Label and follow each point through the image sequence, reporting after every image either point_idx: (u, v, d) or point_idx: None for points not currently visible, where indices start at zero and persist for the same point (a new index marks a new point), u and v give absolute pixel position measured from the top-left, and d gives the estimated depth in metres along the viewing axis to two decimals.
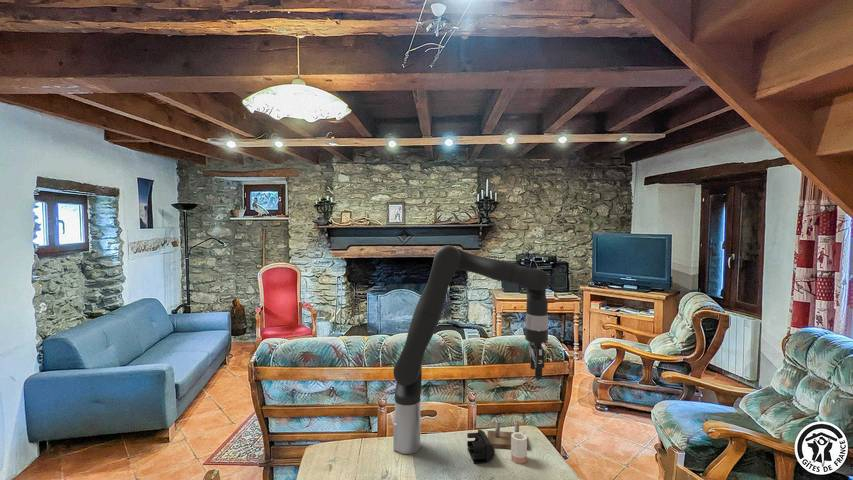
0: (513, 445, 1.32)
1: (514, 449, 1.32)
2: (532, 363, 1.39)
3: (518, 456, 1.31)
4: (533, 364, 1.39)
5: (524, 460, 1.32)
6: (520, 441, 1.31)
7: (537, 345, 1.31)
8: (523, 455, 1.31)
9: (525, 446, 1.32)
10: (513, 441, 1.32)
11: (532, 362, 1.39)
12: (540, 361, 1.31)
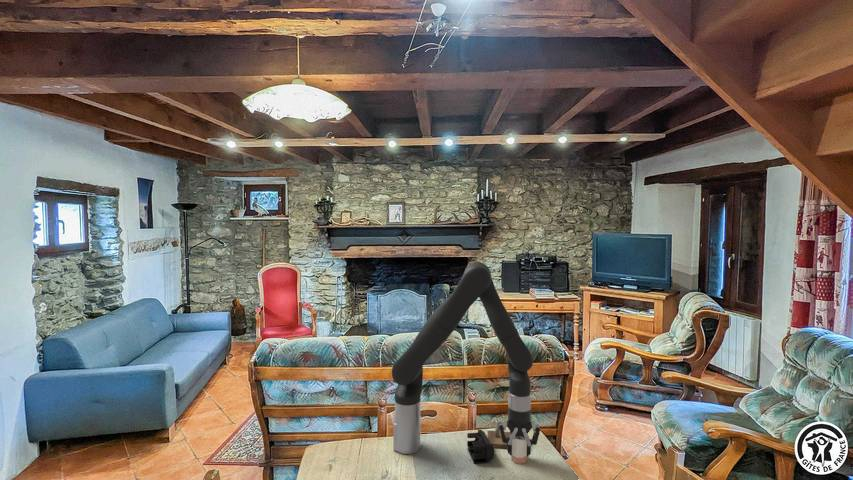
0: (513, 445, 1.32)
1: (514, 449, 1.32)
2: (511, 449, 1.34)
3: (518, 456, 1.31)
4: (511, 448, 1.34)
5: (524, 460, 1.32)
6: (520, 441, 1.31)
7: (530, 422, 1.33)
8: (523, 455, 1.31)
9: (525, 446, 1.32)
10: (513, 441, 1.32)
11: (511, 448, 1.34)
12: None
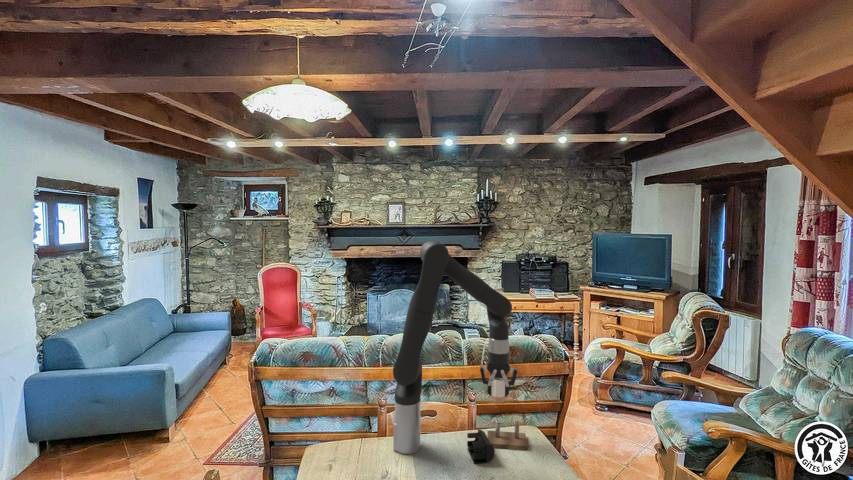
0: (492, 386, 1.44)
1: (493, 389, 1.43)
2: None
3: (497, 395, 1.42)
4: None
5: (502, 399, 1.43)
6: (498, 381, 1.42)
7: (508, 365, 1.44)
8: (501, 395, 1.42)
9: (503, 386, 1.43)
10: (492, 382, 1.43)
11: None
12: None
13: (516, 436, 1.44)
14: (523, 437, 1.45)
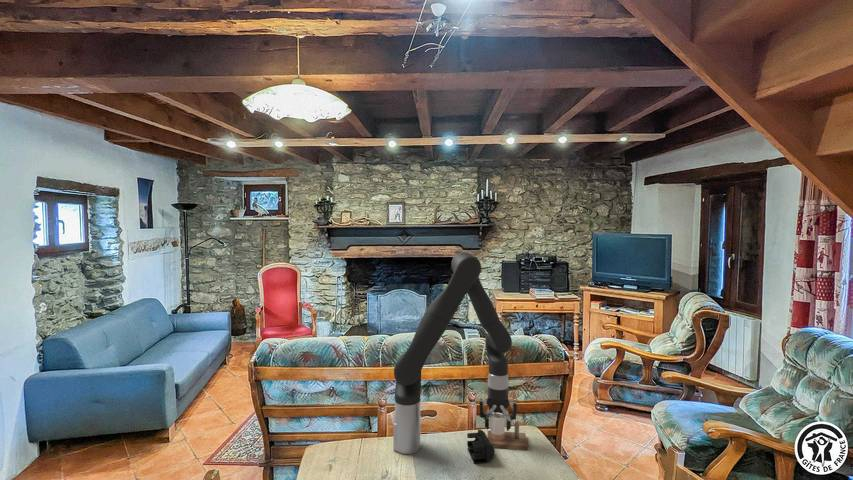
0: (492, 424, 1.44)
1: (493, 427, 1.44)
2: (488, 423, 1.45)
3: (496, 433, 1.43)
4: (488, 423, 1.46)
5: (502, 437, 1.43)
6: (498, 419, 1.43)
7: (508, 400, 1.44)
8: (501, 432, 1.43)
9: (503, 424, 1.44)
10: (492, 420, 1.44)
11: (488, 422, 1.45)
12: None
13: (516, 436, 1.44)
14: (523, 437, 1.45)
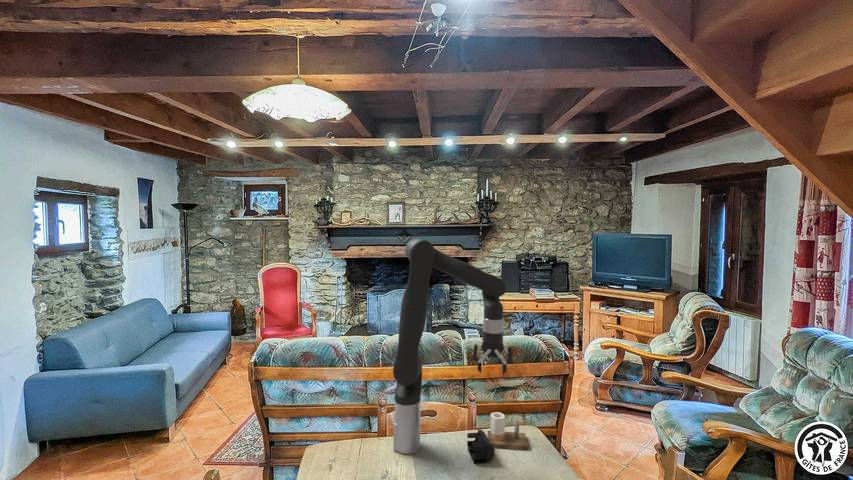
0: (492, 424, 1.44)
1: (493, 427, 1.44)
2: None
3: (496, 433, 1.43)
4: None
5: (502, 437, 1.43)
6: (498, 419, 1.43)
7: (502, 345, 1.46)
8: (501, 432, 1.43)
9: (503, 424, 1.44)
10: (492, 420, 1.44)
11: None
12: None
13: (516, 436, 1.44)
14: (523, 437, 1.45)
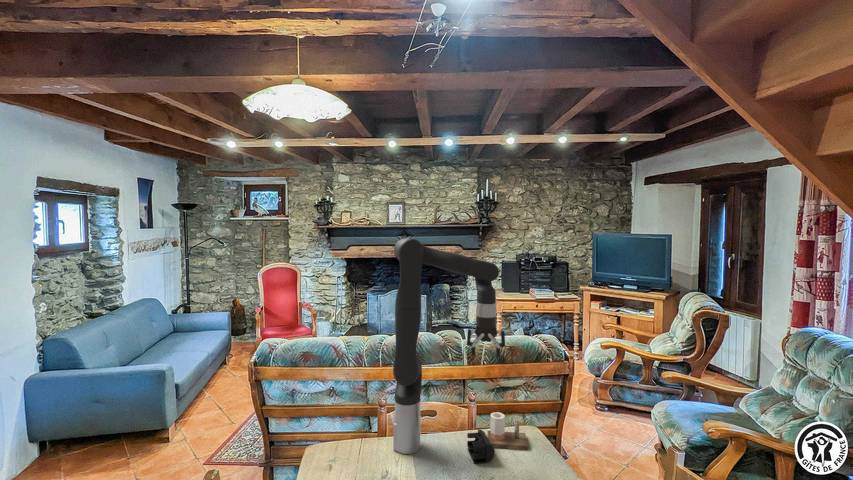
0: (492, 424, 1.44)
1: (493, 427, 1.44)
2: None
3: (496, 433, 1.43)
4: None
5: (502, 437, 1.43)
6: (498, 419, 1.43)
7: None
8: (501, 432, 1.43)
9: (503, 424, 1.44)
10: (492, 420, 1.44)
11: None
12: None
13: (516, 436, 1.44)
14: (523, 437, 1.45)
